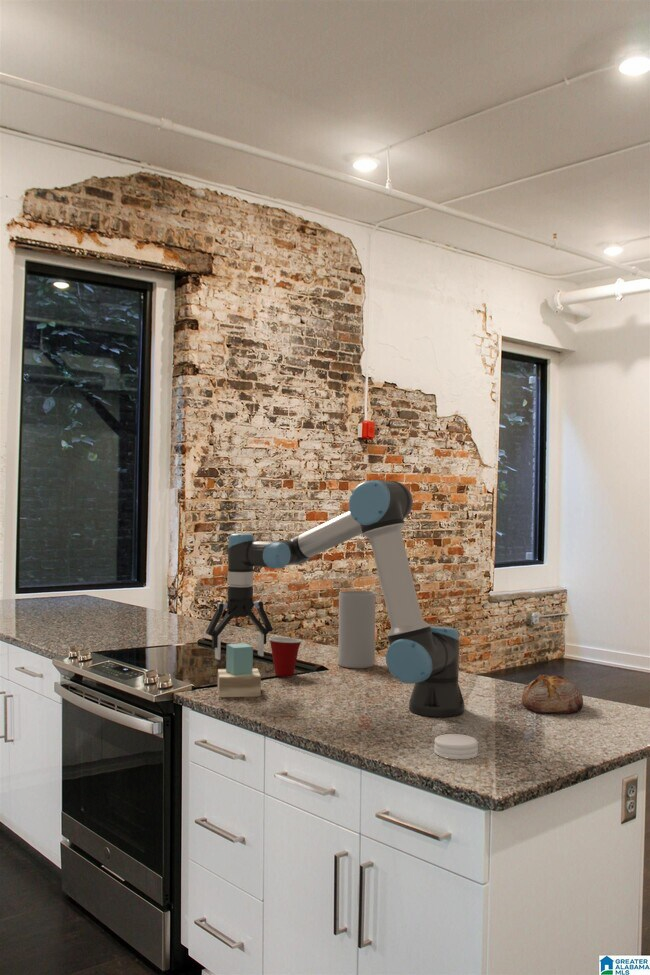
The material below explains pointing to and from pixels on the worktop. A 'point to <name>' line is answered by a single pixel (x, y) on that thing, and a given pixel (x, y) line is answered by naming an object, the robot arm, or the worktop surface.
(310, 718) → the worktop surface
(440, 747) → the coaster
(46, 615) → the worktop surface
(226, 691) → the birch block
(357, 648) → the cylinder vase
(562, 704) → the bread
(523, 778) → the worktop surface
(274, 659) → the plastic cup
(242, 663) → the teal block
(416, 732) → the worktop surface
